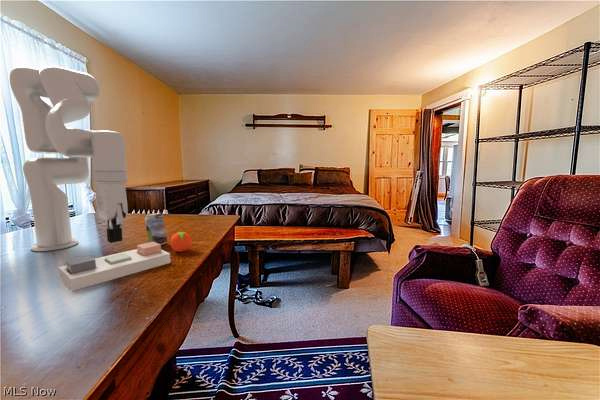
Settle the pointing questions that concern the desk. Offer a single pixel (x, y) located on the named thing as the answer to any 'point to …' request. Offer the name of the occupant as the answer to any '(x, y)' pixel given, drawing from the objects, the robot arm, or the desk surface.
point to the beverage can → (156, 228)
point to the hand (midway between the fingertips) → (115, 241)
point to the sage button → (117, 258)
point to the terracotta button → (148, 248)
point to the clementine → (181, 241)
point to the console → (113, 269)
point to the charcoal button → (80, 264)
